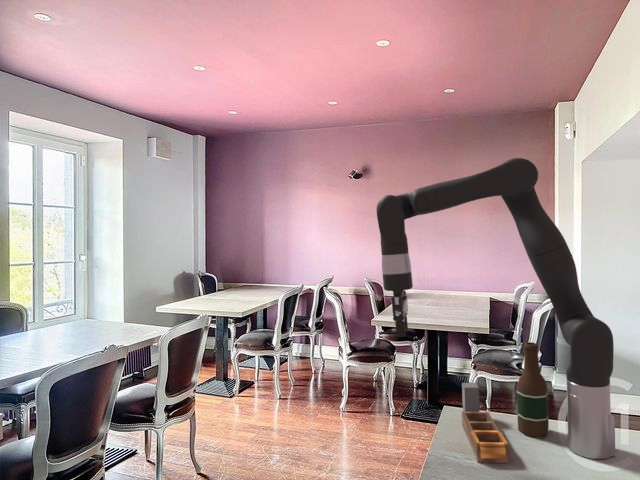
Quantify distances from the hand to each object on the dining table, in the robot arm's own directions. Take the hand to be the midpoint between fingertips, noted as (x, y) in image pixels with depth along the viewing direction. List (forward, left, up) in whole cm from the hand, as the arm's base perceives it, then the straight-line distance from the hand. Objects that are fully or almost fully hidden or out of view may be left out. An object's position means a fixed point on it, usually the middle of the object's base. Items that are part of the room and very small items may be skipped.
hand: (402, 333), depth 121 cm
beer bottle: (-34, -7, -29) cm, 45 cm away
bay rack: (-20, 0, -29) cm, 35 cm away
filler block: (-20, -16, -29) cm, 39 cm away
